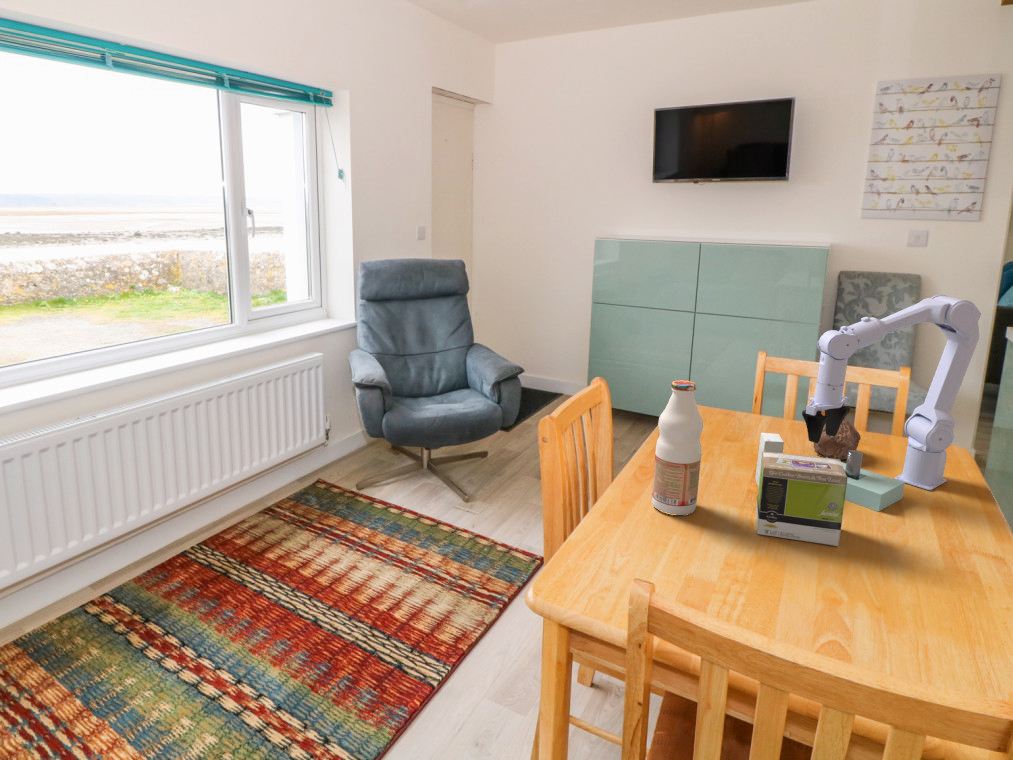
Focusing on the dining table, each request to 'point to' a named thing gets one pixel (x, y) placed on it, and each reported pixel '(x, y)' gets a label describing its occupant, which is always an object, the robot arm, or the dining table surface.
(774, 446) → the skincare box
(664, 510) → the fruit juice
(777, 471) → the tea box
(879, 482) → the hole block
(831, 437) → the decorative rock
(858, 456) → the metal peg
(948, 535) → the dining table surface
